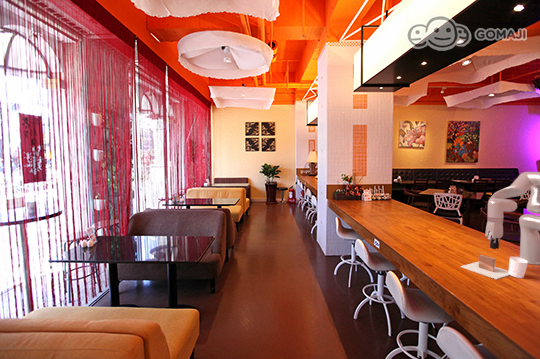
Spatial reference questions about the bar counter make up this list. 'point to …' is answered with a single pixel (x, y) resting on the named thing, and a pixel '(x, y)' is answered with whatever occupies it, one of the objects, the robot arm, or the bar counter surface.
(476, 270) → the mat
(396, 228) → the bar counter surface
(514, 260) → the white cup
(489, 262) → the tile
